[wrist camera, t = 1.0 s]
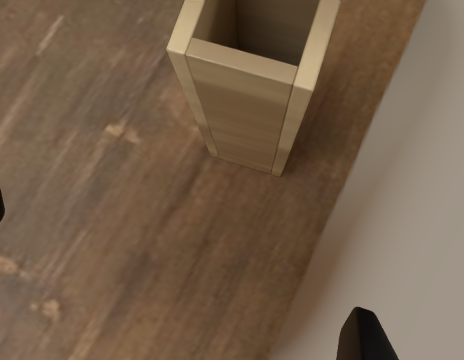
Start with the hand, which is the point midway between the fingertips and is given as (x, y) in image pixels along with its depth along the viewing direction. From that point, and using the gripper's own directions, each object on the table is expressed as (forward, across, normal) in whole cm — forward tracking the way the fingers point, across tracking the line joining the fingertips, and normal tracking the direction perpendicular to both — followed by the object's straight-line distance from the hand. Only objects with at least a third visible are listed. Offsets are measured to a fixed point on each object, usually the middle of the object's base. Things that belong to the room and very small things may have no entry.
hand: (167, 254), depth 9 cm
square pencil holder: (+15, 0, +4) cm, 15 cm away
